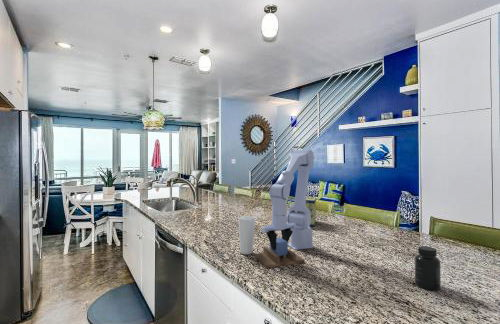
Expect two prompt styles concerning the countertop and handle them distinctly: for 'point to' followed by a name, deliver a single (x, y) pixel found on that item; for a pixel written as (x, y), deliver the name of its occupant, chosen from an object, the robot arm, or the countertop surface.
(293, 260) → the shelf frame
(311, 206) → the protein box
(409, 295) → the countertop surface
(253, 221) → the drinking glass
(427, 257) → the supplement bottle
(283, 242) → the shelf block
